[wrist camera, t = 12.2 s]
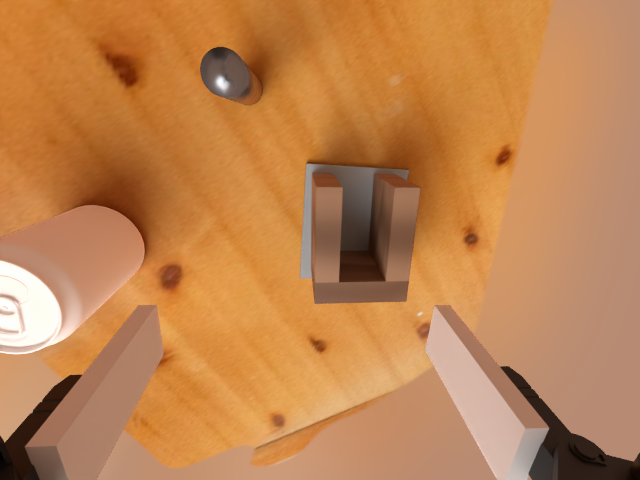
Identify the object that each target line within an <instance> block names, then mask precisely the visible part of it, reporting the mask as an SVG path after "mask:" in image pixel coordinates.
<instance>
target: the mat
mask: <svg viewBox="0 0 640 480" xmlns="http://www.w3.org/2000/svg"><path fill="white" fill-rule="evenodd" d="M312 173H333V175H334V176H335V177H336V179H337V180H338V181H339V183H340V184H341V185H342V187H343V197H342V221H341V245H340V251H368V245H369V232H370V218H371V205H372V192H373V178H374V174H395V175H397V176H399V177H401V178H403V179H405V180H407V181H408V176H409V170H406V169H390V168H374V167H359V166H343V165H327V164H311V163H306V179H305V197H304V215H303V233H302V251H301V269H300V278H312V273H311V207H312Z"/></svg>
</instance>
